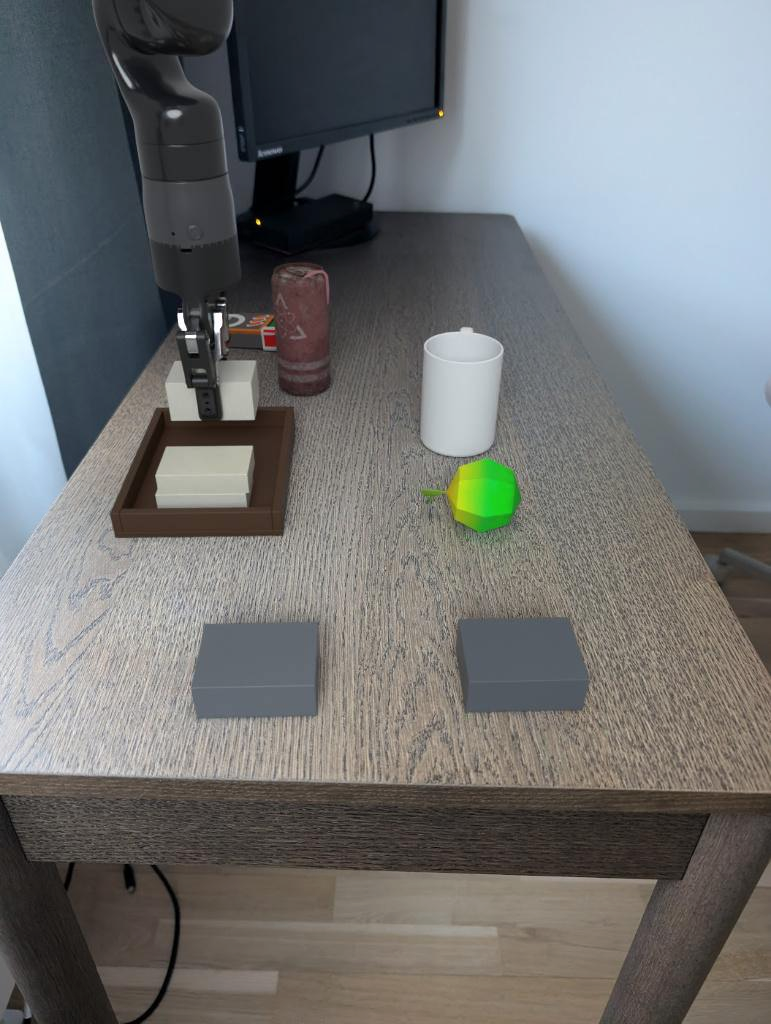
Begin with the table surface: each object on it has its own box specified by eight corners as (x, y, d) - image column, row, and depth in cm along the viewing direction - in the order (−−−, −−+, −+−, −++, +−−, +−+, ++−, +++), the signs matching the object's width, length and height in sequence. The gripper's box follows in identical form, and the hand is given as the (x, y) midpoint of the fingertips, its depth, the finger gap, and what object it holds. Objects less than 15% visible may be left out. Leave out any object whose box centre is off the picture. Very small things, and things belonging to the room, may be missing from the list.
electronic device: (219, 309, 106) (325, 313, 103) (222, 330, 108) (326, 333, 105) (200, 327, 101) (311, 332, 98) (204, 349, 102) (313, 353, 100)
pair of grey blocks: (196, 718, 51) (190, 688, 50) (209, 653, 56) (204, 623, 55) (582, 710, 52) (590, 679, 51) (562, 646, 57) (568, 616, 56)
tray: (115, 538, 68) (109, 513, 66) (159, 428, 84) (156, 407, 82) (282, 535, 68) (280, 511, 67) (295, 427, 84) (294, 406, 83)
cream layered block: (158, 513, 70) (151, 476, 67) (169, 482, 74) (162, 446, 71) (251, 512, 70) (247, 474, 68) (256, 481, 74) (253, 445, 72)
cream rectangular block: (171, 421, 74) (164, 383, 72) (180, 397, 78) (174, 360, 76) (254, 420, 75) (250, 382, 72) (259, 396, 79) (256, 360, 76)
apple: (528, 451, 66) (423, 445, 66) (526, 524, 64) (418, 517, 65) (517, 475, 73) (421, 470, 73) (515, 541, 71) (417, 535, 72)
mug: (493, 461, 79) (503, 365, 73) (416, 455, 80) (419, 360, 74) (495, 406, 89) (505, 318, 83) (427, 401, 89) (431, 314, 83)
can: (331, 397, 90) (327, 278, 82) (276, 397, 90) (267, 277, 82) (333, 375, 95) (330, 260, 87) (281, 374, 95) (273, 260, 87)
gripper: (164, 207, 72) (189, 374, 82) (129, 254, 61) (163, 442, 70) (245, 207, 73) (260, 374, 82) (225, 254, 61) (246, 441, 71)
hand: (215, 404), depth 76 cm, fingers closed on cream rectangular block, 5 cm apart
